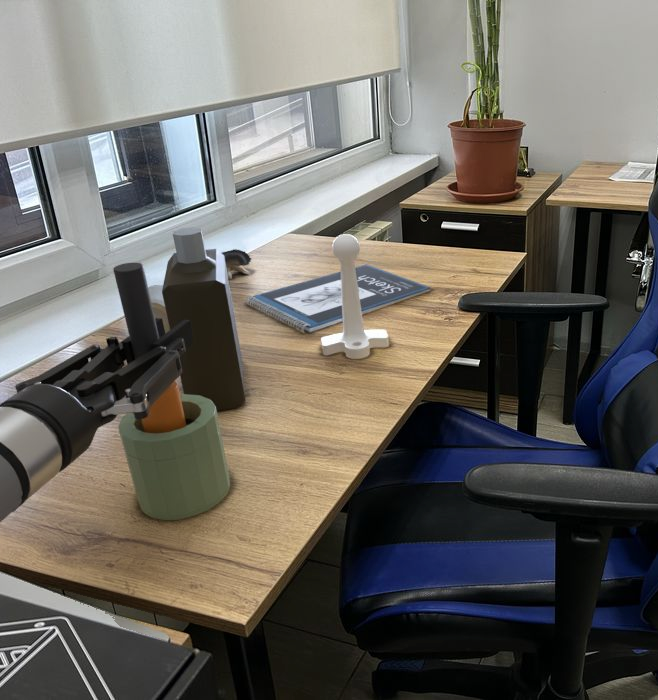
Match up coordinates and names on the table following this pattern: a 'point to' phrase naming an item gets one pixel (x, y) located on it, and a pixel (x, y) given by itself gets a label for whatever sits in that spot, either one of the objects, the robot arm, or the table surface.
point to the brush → (147, 344)
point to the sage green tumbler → (178, 462)
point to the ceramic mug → (159, 305)
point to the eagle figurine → (236, 261)
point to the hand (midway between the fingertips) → (175, 330)
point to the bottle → (204, 320)
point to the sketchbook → (334, 298)
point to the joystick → (351, 308)
